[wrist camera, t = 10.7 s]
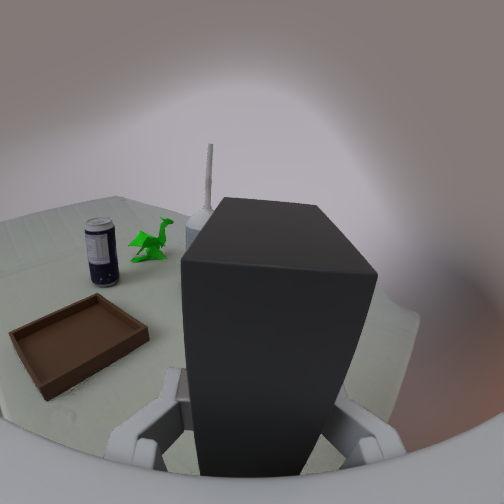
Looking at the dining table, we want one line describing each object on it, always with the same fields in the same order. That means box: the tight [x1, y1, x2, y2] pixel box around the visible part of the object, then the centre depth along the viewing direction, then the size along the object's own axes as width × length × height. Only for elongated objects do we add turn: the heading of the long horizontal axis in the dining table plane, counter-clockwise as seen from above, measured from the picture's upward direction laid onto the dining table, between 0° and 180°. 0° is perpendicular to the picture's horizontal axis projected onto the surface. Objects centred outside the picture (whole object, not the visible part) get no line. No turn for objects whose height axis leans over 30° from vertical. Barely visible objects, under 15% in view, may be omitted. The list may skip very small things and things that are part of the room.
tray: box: [9, 293, 150, 401], centre depth 31 cm, size 17×13×2 cm
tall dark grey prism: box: [181, 197, 378, 478], centre depth 10 cm, size 3×6×14 cm, turn 178°
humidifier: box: [186, 144, 214, 251], centre depth 45 cm, size 8×8×25 cm
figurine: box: [128, 217, 174, 262], centre depth 60 cm, size 6×12×9 cm, turn 129°
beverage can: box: [85, 217, 119, 287], centre depth 47 cm, size 6×6×12 cm
